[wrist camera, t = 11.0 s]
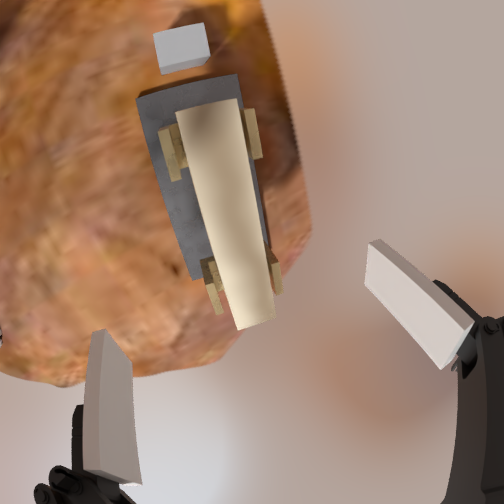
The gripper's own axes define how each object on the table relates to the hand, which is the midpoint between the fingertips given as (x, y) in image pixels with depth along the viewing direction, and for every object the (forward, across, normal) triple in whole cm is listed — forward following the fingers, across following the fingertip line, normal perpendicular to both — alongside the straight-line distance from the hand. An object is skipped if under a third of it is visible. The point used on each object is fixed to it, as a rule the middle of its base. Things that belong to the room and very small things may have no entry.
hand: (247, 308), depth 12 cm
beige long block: (+15, +2, -2) cm, 15 cm away
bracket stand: (+25, +2, -2) cm, 25 cm away
